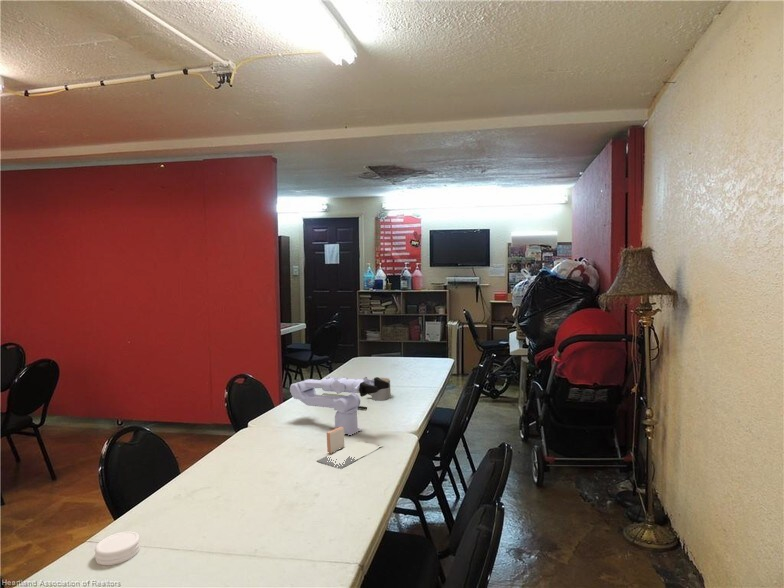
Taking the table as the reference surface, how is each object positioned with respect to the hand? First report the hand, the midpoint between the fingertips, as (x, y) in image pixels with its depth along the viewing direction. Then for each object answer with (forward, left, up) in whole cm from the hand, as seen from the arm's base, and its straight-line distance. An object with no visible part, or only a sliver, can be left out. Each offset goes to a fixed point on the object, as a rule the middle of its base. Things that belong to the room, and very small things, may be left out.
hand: (382, 387), depth 194 cm
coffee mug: (-40, +47, -22) cm, 66 cm away
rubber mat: (-3, -18, -22) cm, 28 cm away
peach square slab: (-10, -18, -22) cm, 30 cm away
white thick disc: (-11, -98, -22) cm, 101 cm away
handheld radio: (-44, +25, -22) cm, 55 cm away
